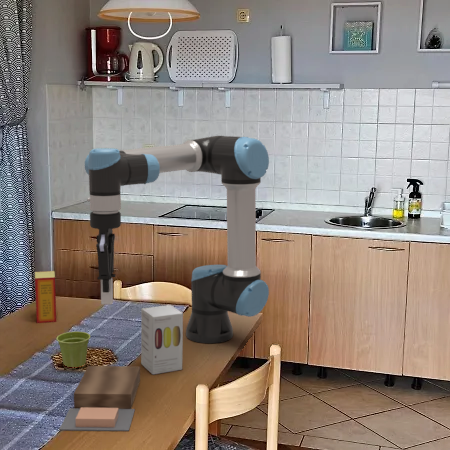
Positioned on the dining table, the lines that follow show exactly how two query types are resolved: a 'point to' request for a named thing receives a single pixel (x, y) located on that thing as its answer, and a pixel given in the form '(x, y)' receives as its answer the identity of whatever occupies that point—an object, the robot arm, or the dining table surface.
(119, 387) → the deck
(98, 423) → the tile
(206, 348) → the dining table surface
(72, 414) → the mat
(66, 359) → the plant pot
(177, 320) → the supplement box
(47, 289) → the baking soda box
